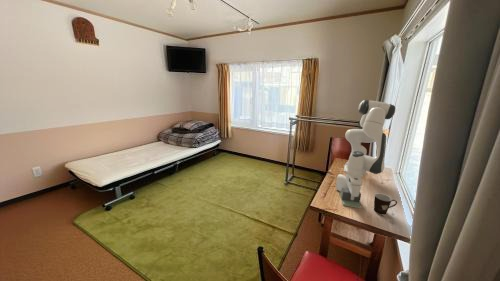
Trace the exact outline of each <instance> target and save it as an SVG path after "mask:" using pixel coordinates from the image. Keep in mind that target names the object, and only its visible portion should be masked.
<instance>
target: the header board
mask: <svg viewBox="0 0 500 281" xmlns="http://www.w3.org/2000/svg"><path fill="white" fill-rule="evenodd" d="M339 196H340V199H341V192H339ZM341 202H342V206H346V207H351V208H358V209H361V207H362V206H361V204H360V203H359V202H353V201H346V200H342V199H341Z"/></svg>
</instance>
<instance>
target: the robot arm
mask: <svg viewBox="0 0 500 281" xmlns="http://www.w3.org/2000/svg"><path fill="white" fill-rule="evenodd" d="M357 109H358V113H359V114H360V115H362V116H361V119H360V121H359V126H360V127H361V128H351V129H347V130H346V132H345V135H344V137H345V139H346V141H347V142H349V143H350V146H351V152H350V155H349V157H348V161H347V162H345V164H344V165H343V172H344V173H346V174H345V176H346V179H347V181H346V183H347V186H348V189H349V191H350V193H351V197H350V199H351V200H354V197H358V196H359V193H361V187H362V186H363V176H365V175H368V172H369V173H372V174H374V175H378V174H381V173H383V171H384V170H385V156H386V148H387V135H386V133H385V132H384V130H383V127H384V125H385V120H390V119H392V118H393V117H394V115H395V113H396V106H395V104H394V105H393V104H392V103H386V102H382V101H376V100H369V99H363V100H362V101H361V102H360V103H359V104H358V108H357ZM362 143H368V144H369V143H371V144H372V143H376V144H377V147H376V148H377V149H376V156H371V155H368V154H367V151H368V150H367V148H366V147H365V146H363V145H362Z"/></svg>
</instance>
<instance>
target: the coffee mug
mask: <svg viewBox="0 0 500 281" xmlns="http://www.w3.org/2000/svg"><path fill="white" fill-rule="evenodd" d="M392 202H395V204H392ZM391 204H392V205H391ZM397 204H398V201H397V200H396V199H393V198H392V197H391V196H389V195H387V194H385V193H378V192H377V193H375V194H374V204H373V211H374V212H375V213H376V214H378V215H382V216H386V215H387V213H388V210H389V209H391V208H393V207H395V206H396V205H397ZM390 205H391V206H390Z"/></svg>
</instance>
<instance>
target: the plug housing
mask: <svg viewBox="0 0 500 281" xmlns="http://www.w3.org/2000/svg"><path fill="white" fill-rule="evenodd" d="M340 193H341V197H340V199H342V200H346V201H353V202H359V204H360V203H361V197H362V193H361V192H360V193H359V196H358V197H354V200H351V199H350V197H351V193H350V191H349V189H346V188H342V190H341V192H340ZM342 200H341V201H342Z"/></svg>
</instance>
